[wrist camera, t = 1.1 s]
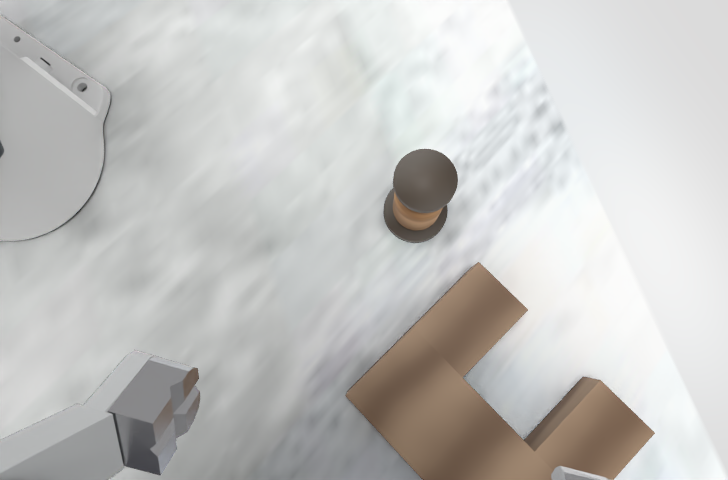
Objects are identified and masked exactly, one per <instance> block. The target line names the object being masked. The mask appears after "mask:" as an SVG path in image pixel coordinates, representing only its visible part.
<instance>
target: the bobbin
mask: <svg viewBox="0 0 728 480" xmlns="http://www.w3.org/2000/svg"><path fill="white" fill-rule="evenodd" d="M457 182H458V178H457V172H456V169H455V167H454V165H453V163H452V162H451V161H450V160H449V159H448V158H447V157H446V156H445V155H444V154H442V153H440V152H438V151H435V150H431V149H419V150H415V151H412V152H410V153H409V154H407V155H406V156H404V157H403V158H402V159H401V160H400V162H399V163H398V165H397V167H396V169H395V172H394V179H393V187H394V188H393V189H392V190H391V191H390V193H389V194H388V196H387V198H386V200H385V204H384V218H385V222H386V224H387V226H388V228H389V230H390V231H391V232H392V233H393V234H394V235H395V236H396V237H398V238H399V239H401V240H404V241H407V242H412V243H419V242H424V241H427V240H429V239H431V238H433V237H434V236H435V235H436V234H437V233H438V232H439V231H440V230H441V228H442V227H443V225H444V223H445V221H446V217H447V204H448V203H449V201H450V200H451V199H452V197H453V195H454V193H455V191H456V188H457Z"/></svg>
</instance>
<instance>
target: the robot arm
mask: <svg viewBox="0 0 728 480" xmlns="http://www.w3.org/2000/svg"><path fill="white" fill-rule="evenodd" d="M85 87H87V89H86V90H85V91H84V92H82V90H83V89H84V88H85ZM110 99H111V96H110V92H109V90H108V89H107V88H106V87H104V86H103V85H102V84H100V83H99V82H97V81H96V80H94V79H93V78H91V77H90V76H89V75H87V74H86V73H84V72H83V71H81V70H80V69H78V68H77V67H75V66H74V65H73V64H71V63H70V62H68V61H67V60H65V59H64V58H62V57H61V56H59V55H58V54H57V53H55V52H54V51H52V50H51V49H49V48H48V47H46V46H45V45H43V44H42V43H41V42H39V41H38V40H36V39H35V38H33V37H32V36H30V35H29V34H27V33H26V32H25V31H23V30H22V29H20V28H19V27H17V26H16V25H14V24H13V23H11V22H10V21H8V20H7V19H6V18H4V17H3V16H1V15H0V241H20V240H26V239H31V238H34V237H38V236H41V235H43V234H46V233H48V232H50V231H52V230H54V229H56V228H57V227H59V226H61V225H62V224H64V223H65V222H66V221H68V220H69V219H70V218H71V217H72V216H74V215H75V214H76V213H77V212H78V211H79V210H80V209H81V207H82V206H83V205H84V204H85V203H86V201H87V200H88V198H89V197H90V195H91V194H92V192H93V190H94V188H95V187H96V184H97V182H98V180H99V177H100V174H101V171H102V166H103V161H104V138H103V123H104V120H105V117H106V114H107V112H108V108H109V105H110ZM198 379H199V375H198V368H194V367H191V366H188V365H184V364H181V363H178V362H174V361H171V360H167V359H164V358H161V357H157V356H154V355H151V354H147V353H143V352H140V351H136V350H134V351H132V352H131V353H129V354H128V355H126V357H125V358H124V359H123V360H122V361H121V362H120V363H119V365H118V366H117V367H116V368H115V369H114V370H113V372H112V373H111V374H110V375H109V376H108V377H107V378H106V380H105V381H104V382H103V383H102V384H101V385H100V387H99V388H98V389H97V390H96V391H95V392H94V393H93V395H92V396H91V397H90V398H89V399H88V400H87V402H86V403H85V404H84V405H81V404H75V405H73V406H71V407H69V408H67V409H65V410H63V411H60V412H58V413H56V414H54V415H52V416H50V417H48V418H46V419H43V420H41V421H39V422H37V423H35V424H33V425H31V426H29V427H26V428H24V429H22V430H20V431H18V432H16V433H14V434H12V435H9V436H7V437H5V438H3V439H1V440H0V480H108V479H110V478H111V477H113V476H114V475H115V474H117V473H118V472H120V471H121V470H123V469H124V466H127V467H130V468H134V469H138V470H142V471H145V472H149V473H153V474H157V475H161V474H162V473H163V471H164V469H165V468H166V466H167V464H168V463H169V461H170V460H171V458H172V456H173V455H174V453H175V451H176V450H177V445H176V438H177V437H179V436H181V435H183V434H184V433H186V432H187V431H188V430H189V428H190V426H191V425H192V423H193V421H194V419H195V416H196V413H197V411H198V408H199V402H200V391H199V390H198V389H197V387H196V386H195V384H196V382H197V381H198ZM551 478H552V480H611V479H607V478H606V477H602V476H598V475H594V474H590V473H586V472H582V471H578V470H575V469H571V468H567V467H563V466H558V467H556V468H555V469H554V471H553V473H552V474H551Z"/></svg>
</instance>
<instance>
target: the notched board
mask: <svg viewBox="0 0 728 480" xmlns="http://www.w3.org/2000/svg"><path fill="white" fill-rule="evenodd" d="M527 311H528V309H527V308H526V307H525V306H524V305H523V304H522V303H521V302H519V301H518V300H517V299H516V298H515V297H514V296H513V295H512V294H511V293H510V292H509V291H508V290H507V289H506V288H505V287H504V286H503V285H502V284H501V283H500V282H499V281H498V280H497V279H496V278H495V277H494V276H493V275H492V274H491V273H490V272H489V271H488V270H487V269H486V268H484V267H483V266H482V265H481V264H480V263H479V262H478V263H477V264H475V265H474V266H473V267H471V268H470V269H469V270H468V271H467V272H466V273H465V274H464V275H463V276H462V277H461V278H460V279H459V280H458V281H457V282H456V283H455V284H454V285H453V286H452V287H451V288H450V289H449V290H448V291H447V292H446V293H445V294H444V295H443V296H442V297H441V298H440V299H439V300H438V301H437V302H436V303H435V304H434V305H433V306H432V307H431V308H430V309H429V310H428V311H427V312H426V313H425V314H424V315H423V316H422V317H421V318H420V319H419V320H418V321H417V322H416V323H415V324H414V325H413V326H412V327H411V328H410V329H409V330H408V331H407V332H406V333H405V334H404V335H403V336H402V337H401V338H400V339H399V340H398V341H397V342H396V343H395V344H394V345H393V346H392V347H391V348H390V349H389V350H388V351H387V352H386V353H385V354H384V355H383V356H382V357H381V358H380V359H379V360H378V361H377V362H376V363H375V364H374V365H373V366H372V367H371V368H370V369H369V370H368V371H367V372H366V373H365V374H364V375H363V376H362V377H361V378H360V379H359V380H358V381H357V382H356V383H355V384H354V385H353V386H352V387H351V388H350V389H349V390H348V391H347V393H346V395H345V396H346V397H347V398H348V399H349V400H350V401H351V402H352V403H353V404H354V405H355V407H356V408H357V409H358V410H359V411H360V412H361V413H362V414H363V415H364V416H365V417H366V419H367V420H368V421H369V422H370V423H371V424H372V425H373V426H374V427H375V428H376V429H377V431H378V432H379V433H380V434H381V435H382V436H383V437H384V438H385V439H386V440H387V441H388V442H389V444H390V445H391V446H392V447H393V448H394V449H395V450H396V451H397V452H398V453H399V454H400V456H401V457H402V458H403V459H404V460H405V461H406V462H407V463H408V464H409V465H410V466H411V468H412V469H413V470H414V471H415V472H416V473H417V474H418V475H419V476H420V477H421V478H422V479H423V480H552V478H551V474H552V473H553V471H554V469H555V468H556V467H558V466H563V467H567V468H571V469H575V470H578V471H582V472H586V473H590V474H594V475H598V476H602V477H606V478H607V479H611V480H614V478H615V477H616V476H617V475H618V474H619V473H620V472H621V471H622V469H623V468H624V467H625V466H626V465H627V464H628V463H629V462H630V460H631V459H632V458H633V457H634V456H635V455H636V454H637V453H638V451H639V450H640V449H641V448H642V447H643V446H644V445H645V444H646V442H647V441H648V440H649V439H650V438H651V437H652V436H653V435H654V434H655V433H654V432H653V431H652V430H651V429H650V428H649V427H648V426H647V425H646V424H645V423H644V422H643V421H642V420H641V419H640V418H639V417H638V416H637V415H636V414H635V413H634V412H633V411H632V410H631V409H630V408H629V407H628V406H627V405H626V404H624V403H623V402H622V401H621V400H620V399H619V398H618V397H617V396H616V395H615V394H614V393H613V392H612V391H611V390H610V389H609V388H608V387H607V386H606V385H605V384H604V383H603V382H602V381H601V380H597V379H592V378H587V377H582V378H581V380H580V381H579V382H578V383H577V384H576V385H575V386H574V387H573V388H572V389H571V390H570V391H569V392H568V394H567V395H566V396H565V397H564V398H563V399H562V400H561V401H560V402H559V403H558V404H557V405H556V406H555V408H554V409H553V410H552V411H551V412H550V413H549V414H548V415H547V416H546V417H545V418H544V419H543V420H542V421H541V423H540V424H539V425H538V426H537V427H536V428H535V429H534V430H533V431H532V432H531V433H530V434H529V435H528V437H527V438H526V439H525V440H523V439H522V438H521V437H520V436H519V435H518V434H517V433H516V432H515V431H514V430H513V429H512V428H511V427H510V426H509V425H508V424H507V423H506V422H505V421H504V420H503V419H502V418H501V417H500V416H499V415H498V414H497V412H496V411H495V410H494V409H493V408H492V407H491V406H490V405H489V404H488V403H487V402H486V401H485V400H484V399H483V398H482V397H481V396H480V395H479V394H478V393H477V392H476V391H475V390H474V389H473V388H472V387H471V386H470V385H469V384H468V383H467V382H466V381H465V380H464V379H463V377H464V376H465V375H466V374H467V373H468V372H469V370H470V369H471V368H472V367H473V366H474V365H475V364H476V363H477V362H478V361H479V360H480V359H481V358H482V357H483V356H484V355H485V354H486V353H487V352H488V351H489V350H490V349H491V348H492V347H493V346H494V345H495V344H496V343H497V342H498V341H499V339H500V338H501V337H502V336H503V335H504V334H505V333H506V332H507V331H508V330H509V329H510V328H511V327H512V326H513V325H514V324H515V323H516V322H517V321H518V320H519V319H520V318H521V317H522V316H523V315H524V314H525V313H526V312H527Z"/></svg>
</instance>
